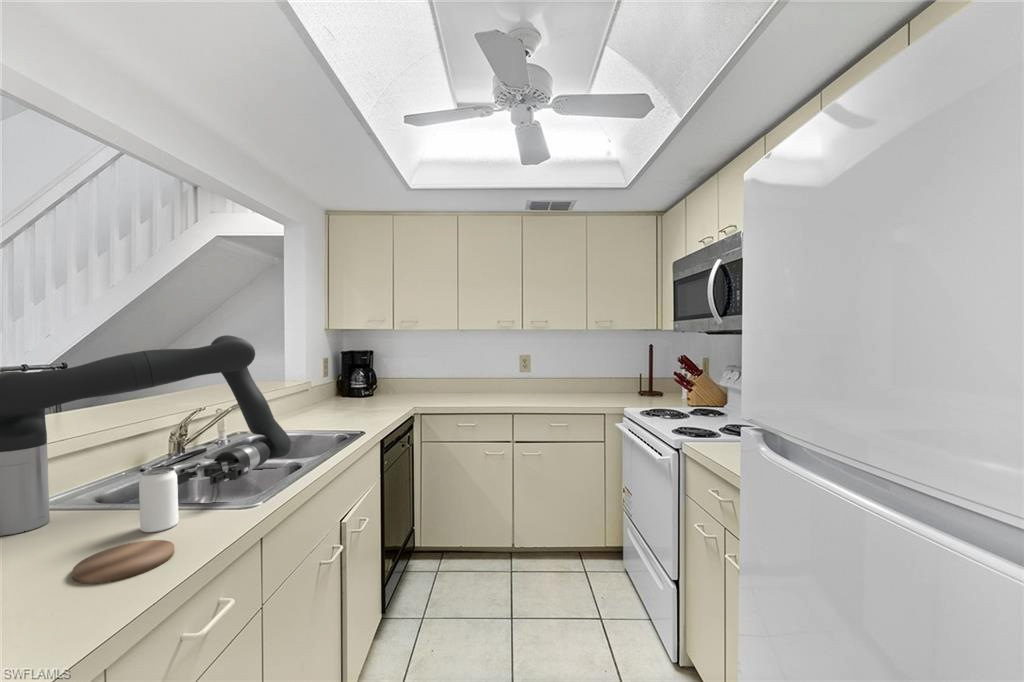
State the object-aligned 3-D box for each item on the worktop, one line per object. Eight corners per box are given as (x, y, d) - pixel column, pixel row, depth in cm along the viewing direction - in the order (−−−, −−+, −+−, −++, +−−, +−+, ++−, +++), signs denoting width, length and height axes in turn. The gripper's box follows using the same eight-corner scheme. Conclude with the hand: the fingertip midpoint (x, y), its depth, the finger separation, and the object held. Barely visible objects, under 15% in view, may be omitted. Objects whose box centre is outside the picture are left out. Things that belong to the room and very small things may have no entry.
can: (158, 534, 96) (156, 476, 96) (132, 532, 97) (130, 474, 97) (186, 522, 102) (184, 467, 102) (161, 520, 103) (159, 465, 103)
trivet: (50, 578, 79) (50, 572, 79) (134, 542, 92) (134, 537, 92) (116, 587, 76) (116, 581, 76) (193, 548, 89) (192, 543, 89)
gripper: (211, 447, 126) (163, 464, 110) (263, 447, 126) (222, 464, 109) (212, 475, 126) (164, 496, 110) (263, 475, 126) (223, 496, 109)
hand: (193, 480), depth 110 cm, fingers open, 8 cm apart
